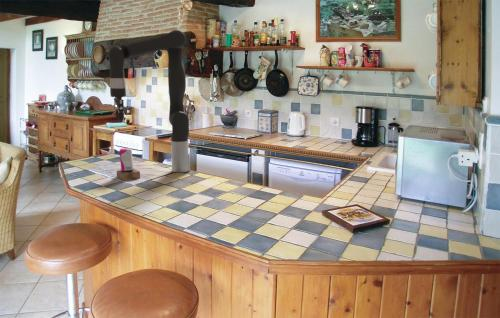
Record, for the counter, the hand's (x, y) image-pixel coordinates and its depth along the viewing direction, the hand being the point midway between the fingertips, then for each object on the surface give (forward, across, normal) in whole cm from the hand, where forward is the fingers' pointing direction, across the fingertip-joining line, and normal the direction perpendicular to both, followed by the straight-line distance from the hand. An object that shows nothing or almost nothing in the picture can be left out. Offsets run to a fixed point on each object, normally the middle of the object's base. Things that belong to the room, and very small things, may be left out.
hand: (119, 119), depth 211 cm
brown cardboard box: (+31, -6, -2) cm, 31 cm away
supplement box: (+27, -5, -2) cm, 27 cm away
